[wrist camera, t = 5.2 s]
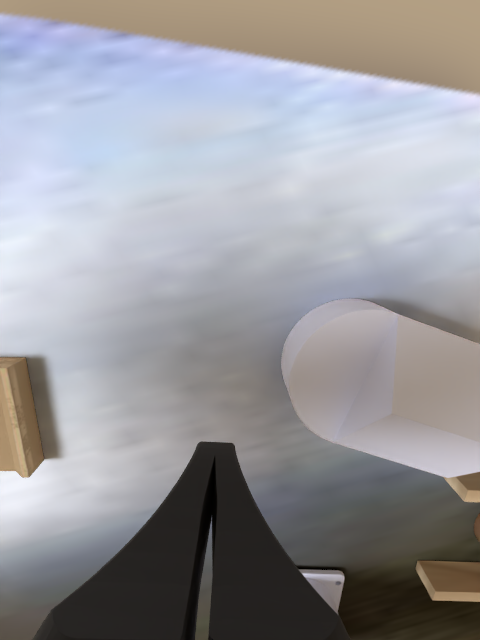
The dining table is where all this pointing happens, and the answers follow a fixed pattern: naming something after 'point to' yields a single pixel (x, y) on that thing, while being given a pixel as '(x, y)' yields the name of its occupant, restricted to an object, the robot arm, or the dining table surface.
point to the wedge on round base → (386, 386)
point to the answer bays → (454, 576)
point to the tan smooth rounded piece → (477, 527)
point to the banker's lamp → (18, 419)
